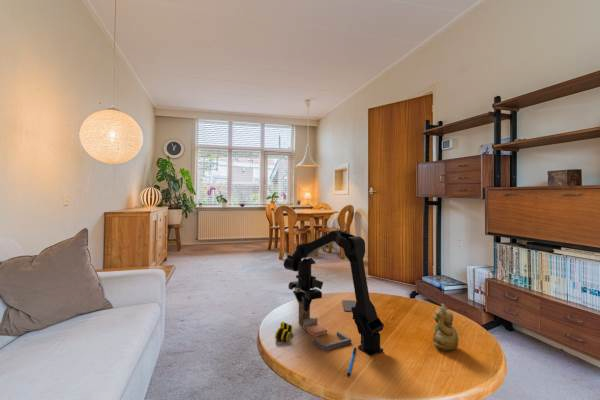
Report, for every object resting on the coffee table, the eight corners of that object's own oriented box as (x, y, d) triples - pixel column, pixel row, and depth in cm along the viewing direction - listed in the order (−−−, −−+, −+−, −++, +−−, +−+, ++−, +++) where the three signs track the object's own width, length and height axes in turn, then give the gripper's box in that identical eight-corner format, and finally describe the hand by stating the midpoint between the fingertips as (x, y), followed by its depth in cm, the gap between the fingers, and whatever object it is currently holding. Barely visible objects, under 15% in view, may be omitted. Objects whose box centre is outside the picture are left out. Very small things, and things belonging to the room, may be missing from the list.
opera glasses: (287, 345, 111) (290, 332, 111) (273, 341, 112) (276, 328, 112) (292, 334, 121) (294, 322, 121) (279, 330, 122) (281, 318, 121)
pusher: (317, 326, 126) (317, 304, 126) (305, 329, 123) (305, 307, 123) (307, 320, 132) (308, 299, 132) (295, 322, 129) (296, 301, 129)
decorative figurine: (434, 339, 115) (434, 300, 116) (458, 344, 112) (458, 304, 112) (432, 350, 107) (432, 308, 107) (458, 356, 103) (459, 312, 103)
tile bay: (351, 343, 112) (351, 339, 112) (324, 351, 106) (324, 346, 106) (338, 335, 118) (338, 331, 118) (312, 342, 112) (312, 338, 112)
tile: (327, 334, 120) (327, 329, 120) (314, 337, 117) (314, 332, 117) (319, 328, 125) (319, 324, 125) (306, 331, 122) (306, 326, 122)
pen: (356, 349, 108) (356, 346, 108) (349, 379, 90) (349, 375, 90) (354, 348, 108) (354, 345, 108) (346, 378, 90) (346, 374, 90)
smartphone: (344, 310, 144) (342, 300, 159) (344, 312, 144) (342, 301, 159) (358, 311, 143) (355, 300, 158) (358, 313, 143) (355, 302, 158)
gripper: (332, 276, 125) (332, 313, 125) (309, 267, 141) (308, 300, 141) (310, 279, 120) (309, 318, 120) (288, 269, 136) (287, 304, 136)
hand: (304, 309), depth 129 cm, fingers closed on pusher, 3 cm apart
